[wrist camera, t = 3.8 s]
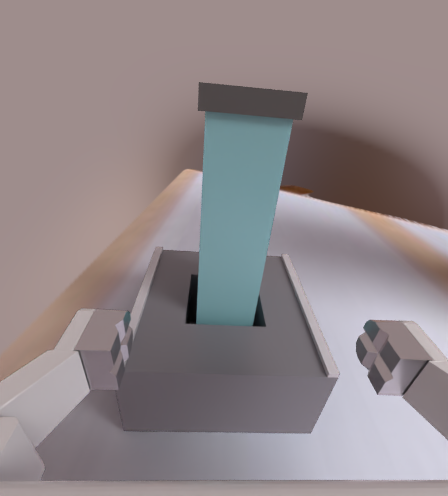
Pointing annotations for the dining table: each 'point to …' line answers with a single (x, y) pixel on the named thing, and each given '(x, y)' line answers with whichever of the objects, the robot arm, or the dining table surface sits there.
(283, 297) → the grey socket base
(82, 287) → the dining table surface
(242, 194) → the plug
